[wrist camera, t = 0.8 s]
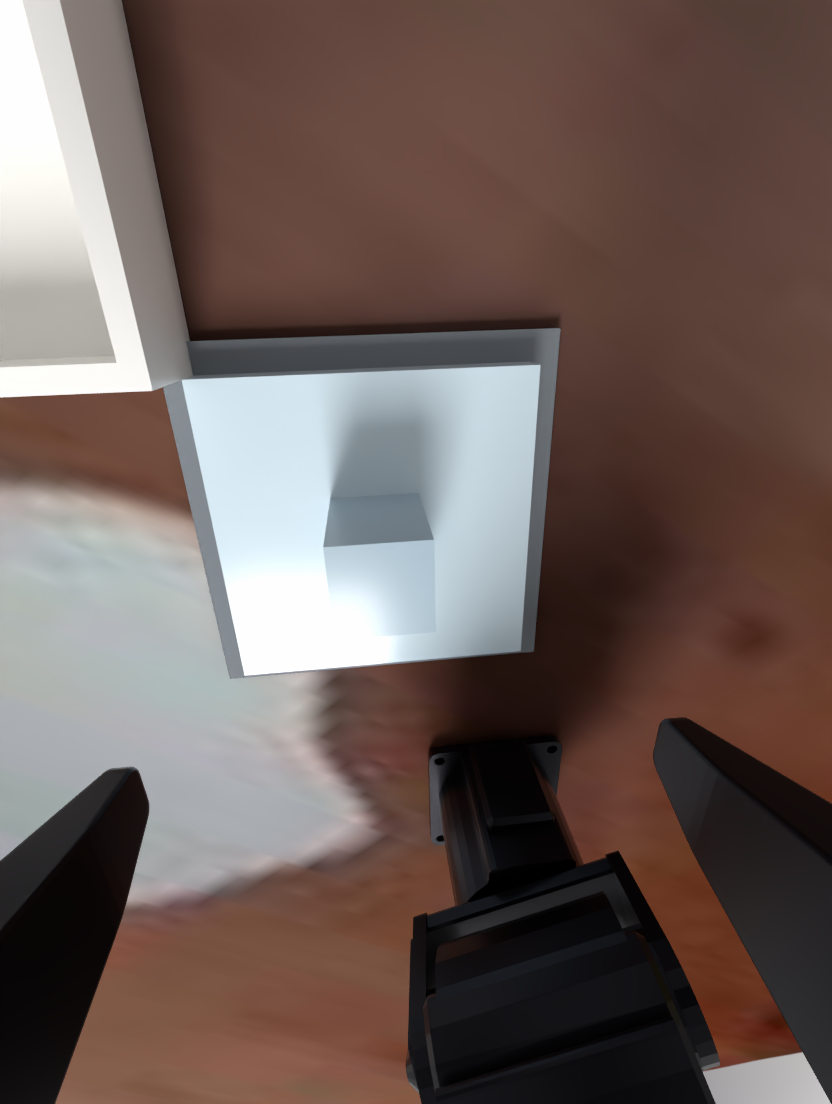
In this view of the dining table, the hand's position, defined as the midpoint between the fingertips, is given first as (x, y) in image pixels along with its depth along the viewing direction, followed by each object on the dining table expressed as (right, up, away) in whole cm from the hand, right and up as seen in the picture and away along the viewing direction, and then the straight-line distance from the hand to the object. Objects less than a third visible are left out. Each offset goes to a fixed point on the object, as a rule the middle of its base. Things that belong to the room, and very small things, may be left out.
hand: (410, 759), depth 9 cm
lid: (-1, +5, +10) cm, 11 cm away
